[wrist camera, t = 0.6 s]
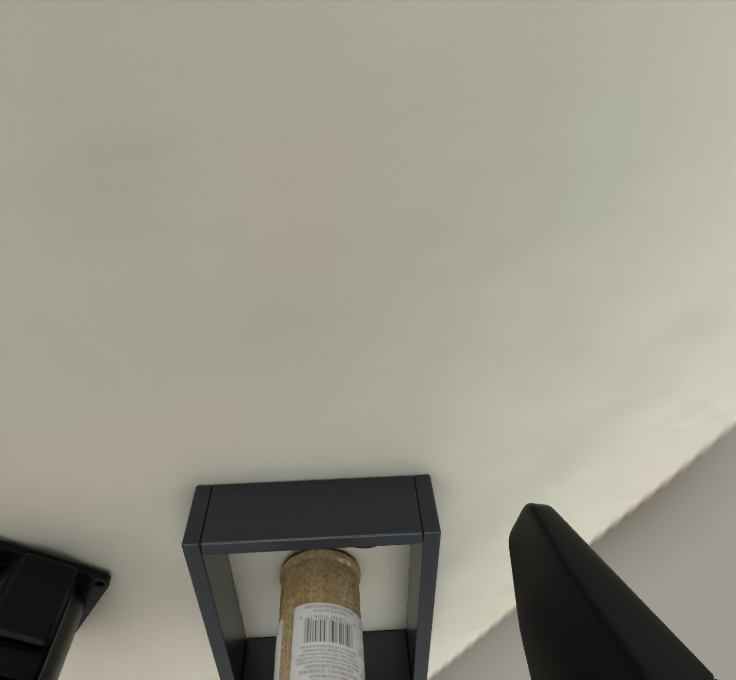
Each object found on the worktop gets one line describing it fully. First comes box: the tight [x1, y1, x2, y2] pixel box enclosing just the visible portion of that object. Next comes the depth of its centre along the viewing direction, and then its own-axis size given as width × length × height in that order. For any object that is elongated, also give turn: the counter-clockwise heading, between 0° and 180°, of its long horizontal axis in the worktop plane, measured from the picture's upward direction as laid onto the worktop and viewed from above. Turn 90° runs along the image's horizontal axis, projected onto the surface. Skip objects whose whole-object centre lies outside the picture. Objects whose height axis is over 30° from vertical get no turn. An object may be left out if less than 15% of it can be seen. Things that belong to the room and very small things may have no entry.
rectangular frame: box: [182, 475, 441, 680], centre depth 32 cm, size 12×15×4 cm
